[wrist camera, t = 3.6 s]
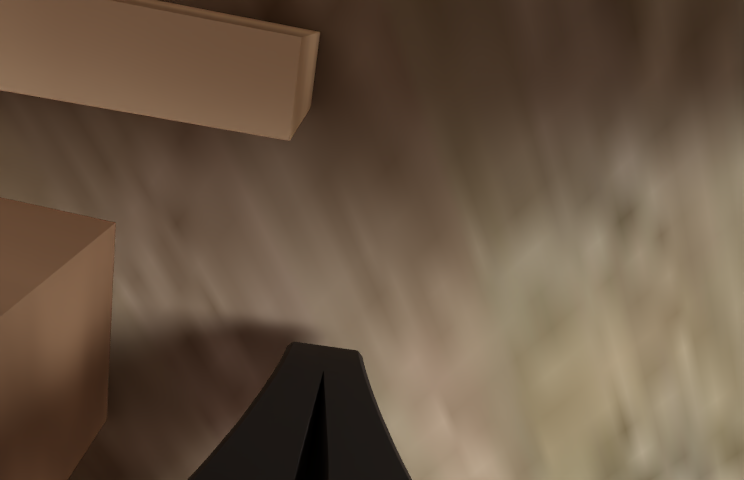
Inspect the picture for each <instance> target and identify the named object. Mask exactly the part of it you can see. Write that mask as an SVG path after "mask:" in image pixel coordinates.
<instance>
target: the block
mask: <svg viewBox="0 0 744 480" xmlns="http://www.w3.org/2000/svg"><path fill="white" fill-rule="evenodd" d="M115 227H116V223H115V222H110V221H106V220H101V219H97V218H92V217H88V216H83V215H78V214H74V213H69V212H65V211H60V210H56V209H51V208H47V207H42V206H37V205H33V204H28V203H24V202H19V201H15V200H10V199H6V198H1V197H0V480H68V479H69V477H70V476H71V474H72V472H73V471H74V469H75V468H76V466H77V465H78V463H79V462H80V460H81V459H82V457H83V455H84V454H85V452H86V451H87V449H88V448H89V446H90V445H91V443H92V442H93V440H94V438H95V437H96V435H97V434H98V432H99V431H100V429H101V428H102V426H103V425H104V423H105V422H106V420H107V403H108V381H109V359H110V337H111V315H112V293H113V271H114V249H115Z"/></svg>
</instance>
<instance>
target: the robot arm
mask: <svg viewBox="0 0 744 480" xmlns="http://www.w3.org/2000/svg"><path fill="white" fill-rule="evenodd" d="M188 480H412V479H411V477H410V475H409V473H408V471H407V469H406V467H405V465H404V463H403V461H402V459H401V457H400V455H399V453H398V451H397V449H396V447H395V445H394V442H393V440H392V438H391V436H390V433H389V431H388V429H387V426H386V424H385V422H384V420H383V417H382V415H381V412H380V410H379V407H378V405H377V402H376V400H375V397H374V394H373V391H372V389H371V386H370V383H369V380H368V377H367V373H366V370H365V366H364V362H363V358H362V356H361V354H360V353H359V352H358V351H356V350H349V349H342V348H335V347H328V346H321V345H314V344H307V343H300V342H293V343H291V344H289V345H288V346H287V347H286V350H285V352H284V354H283V356H282V358H281V360H280V362H279V364H278V365H277V367H276V369H275V370H274V372H273V374H272V375H271V377H270V378H269V380H268V381H267V383H266V384H265V386H264V387H263V389H262V390H261V391H260V393H259V394H258V396H257V397H256V398H255V400H254V401H253V402H252V404H251V405H250V406H249V408H248V409H247V410H246V412H245V413H244V415H243V416H242V417H241V418H240V420H239V421H238V422H237V424H236V425H235V426H234V427H233V428H232V430H231V431H230V432H229V433H228V434H227V435H226V437H225V438H224V439H223V440H222V441H221V443H220V444H219V445H218V446H217V447H216V449H215V450H214V451H213V452H212V453H211V454H210V456H209V457H208V458H207V459H206V460H205V461H204V462H203V463H202V465H201V466H200V467H199V468H198V469H197V470H196V471H195V472H194V473H193V474H192V475H191V477H190V478H189V479H188Z"/></svg>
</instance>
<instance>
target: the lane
mask: <svg viewBox="0 0 744 480" xmlns="http://www.w3.org/2000/svg"><path fill="white" fill-rule="evenodd" d="M319 38H320V32H318V31H313V30H308V29H302V28H297V27H292V26H287V25H282V24H277V23H272V22H267V21H261V20H256V19H251V18H246V17H241V16H236V15H231V14H225V13H220V12H215V11H210V10H205V9H200V8H195V7H189V6H184V5H179V4H174V3H169V2H164V1H159V0H0V90H2V91H8V92H13V93H19V94H25V95H30V96H36V97H42V98H48V99H53V100H59V101H65V102H70V103H76V104H82V105H88V106H93V107H99V108H105V109H110V110H116V111H122V112H128V113H133V114H139V115H145V116H150V117H156V118H162V119H168V120H173V121H179V122H185V123H190V124H196V125H202V126H207V127H213V128H219V129H225V130H230V131H236V132H242V133H247V134H253V135H259V136H265V137H270V138H276V139H282V140H287V141H290V140H291V138H292V136H293V135H294V133H295V132H296V130H297V128H298V127H299V125H300V124H301V122H302V120H303V119H304V117H305V116H306V114H307V112H308V111H309V109H310V108H311V101H312V93H313V85H314V77H315V69H316V61H317V53H318V45H319Z"/></svg>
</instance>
